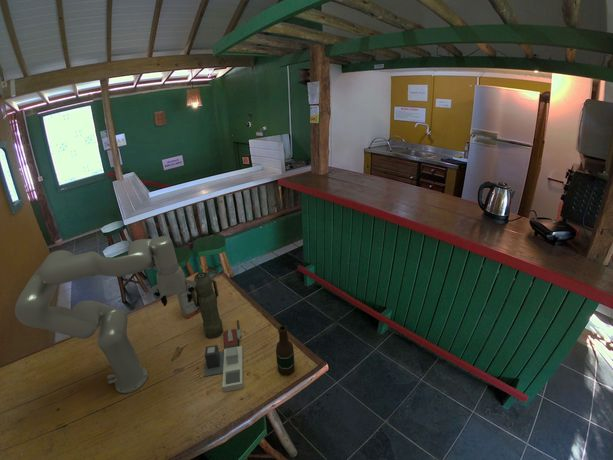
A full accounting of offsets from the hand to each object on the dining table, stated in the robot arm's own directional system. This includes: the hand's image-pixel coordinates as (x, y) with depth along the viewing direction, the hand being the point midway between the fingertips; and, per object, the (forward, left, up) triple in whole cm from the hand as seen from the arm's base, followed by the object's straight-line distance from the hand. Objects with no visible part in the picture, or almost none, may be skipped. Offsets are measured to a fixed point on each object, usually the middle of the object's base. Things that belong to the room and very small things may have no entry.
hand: (178, 302), depth 129 cm
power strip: (+18, -10, -33) cm, 39 cm away
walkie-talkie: (+17, +10, -34) cm, 39 cm away
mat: (+10, -5, -33) cm, 35 cm away
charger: (+9, -5, -33) cm, 34 cm away
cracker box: (-3, +34, -34) cm, 48 cm away
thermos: (+8, +15, -34) cm, 38 cm away
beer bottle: (+41, -14, -34) cm, 55 cm away
